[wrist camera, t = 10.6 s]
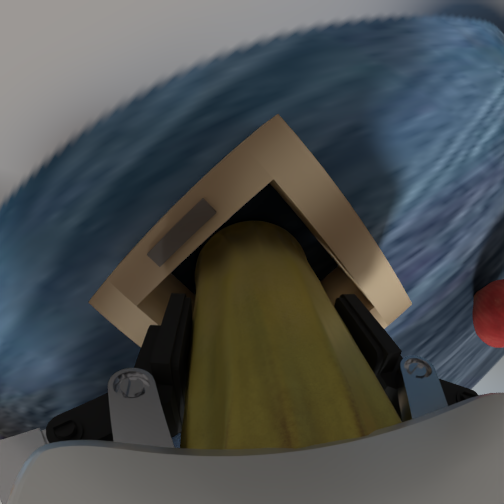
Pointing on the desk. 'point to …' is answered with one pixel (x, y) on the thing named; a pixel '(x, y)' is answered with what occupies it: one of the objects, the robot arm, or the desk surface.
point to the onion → (490, 313)
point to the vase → (272, 351)
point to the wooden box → (228, 203)
